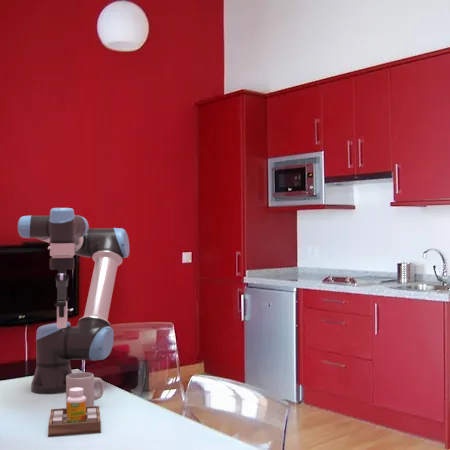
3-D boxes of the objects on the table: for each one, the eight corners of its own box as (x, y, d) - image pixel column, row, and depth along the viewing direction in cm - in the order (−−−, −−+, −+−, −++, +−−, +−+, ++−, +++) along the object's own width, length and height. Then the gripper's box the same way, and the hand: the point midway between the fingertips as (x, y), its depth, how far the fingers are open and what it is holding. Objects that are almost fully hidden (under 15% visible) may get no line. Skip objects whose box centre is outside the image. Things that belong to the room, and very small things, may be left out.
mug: (71, 416, 183) (71, 379, 183) (62, 409, 190) (62, 374, 190) (108, 409, 190) (108, 374, 190) (98, 403, 197) (98, 369, 197)
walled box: (51, 419, 180) (51, 408, 180) (99, 415, 183) (99, 404, 183) (48, 436, 164) (48, 424, 164) (100, 432, 167) (100, 420, 167)
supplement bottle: (69, 427, 170) (68, 392, 170) (65, 421, 175) (64, 388, 175) (88, 424, 172) (88, 390, 173) (83, 419, 177) (83, 385, 177)
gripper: (51, 255, 201) (51, 319, 201) (47, 258, 177) (47, 331, 177) (74, 255, 203) (75, 318, 203) (73, 258, 179) (74, 330, 178)
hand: (62, 324), depth 190 cm, fingers open, 13 cm apart
